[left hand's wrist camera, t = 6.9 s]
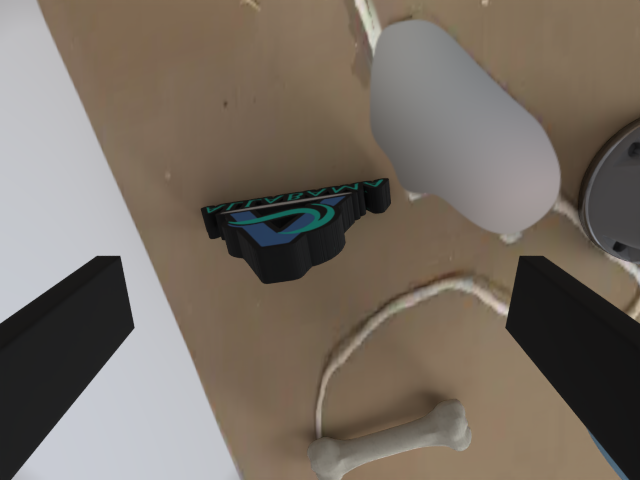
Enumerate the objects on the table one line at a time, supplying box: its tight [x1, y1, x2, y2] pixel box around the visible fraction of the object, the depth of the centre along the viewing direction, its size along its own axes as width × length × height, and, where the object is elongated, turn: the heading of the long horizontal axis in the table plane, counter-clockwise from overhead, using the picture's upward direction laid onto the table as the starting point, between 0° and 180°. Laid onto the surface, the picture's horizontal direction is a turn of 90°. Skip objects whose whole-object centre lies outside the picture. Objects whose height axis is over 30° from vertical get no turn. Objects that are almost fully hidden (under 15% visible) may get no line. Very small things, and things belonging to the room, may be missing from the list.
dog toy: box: [307, 399, 471, 480], centre depth 47 cm, size 20×6×5 cm, turn 112°
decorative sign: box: [201, 178, 391, 284], centre depth 31 cm, size 19×2×15 cm, turn 99°
